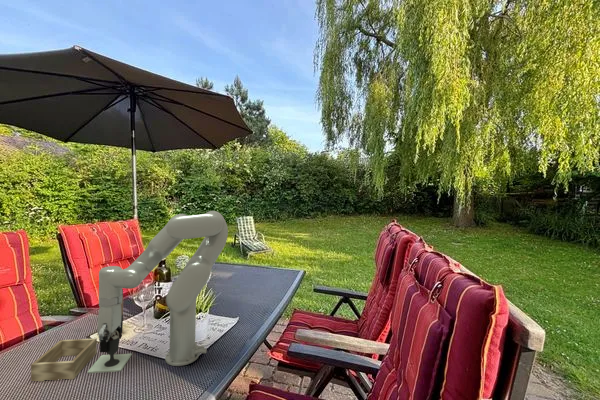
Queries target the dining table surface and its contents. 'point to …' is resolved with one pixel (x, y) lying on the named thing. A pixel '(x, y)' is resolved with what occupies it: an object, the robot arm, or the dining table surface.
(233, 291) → the dining table surface
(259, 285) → the dining table surface
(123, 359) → the mat
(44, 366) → the crate
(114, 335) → the sundae
